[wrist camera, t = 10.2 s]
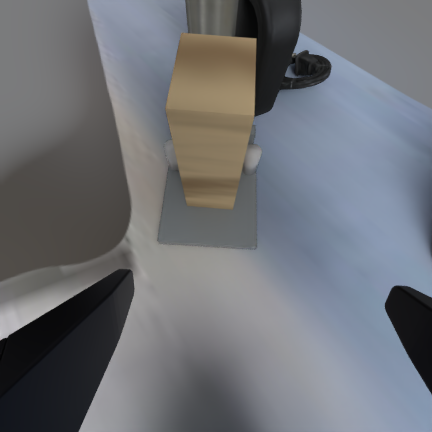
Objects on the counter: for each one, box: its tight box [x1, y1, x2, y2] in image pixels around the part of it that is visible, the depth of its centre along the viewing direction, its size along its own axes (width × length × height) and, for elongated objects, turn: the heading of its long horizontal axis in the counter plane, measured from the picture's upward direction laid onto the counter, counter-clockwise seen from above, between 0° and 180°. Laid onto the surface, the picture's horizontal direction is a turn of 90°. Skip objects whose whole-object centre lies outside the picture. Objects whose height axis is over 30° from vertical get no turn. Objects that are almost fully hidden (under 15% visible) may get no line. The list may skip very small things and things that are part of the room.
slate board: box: [157, 125, 262, 249], centre depth 23 cm, size 12×9×4 cm
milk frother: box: [185, 0, 332, 116], centre depth 24 cm, size 14×16×15 cm
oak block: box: [165, 33, 256, 210], centre depth 18 cm, size 6×4×12 cm
